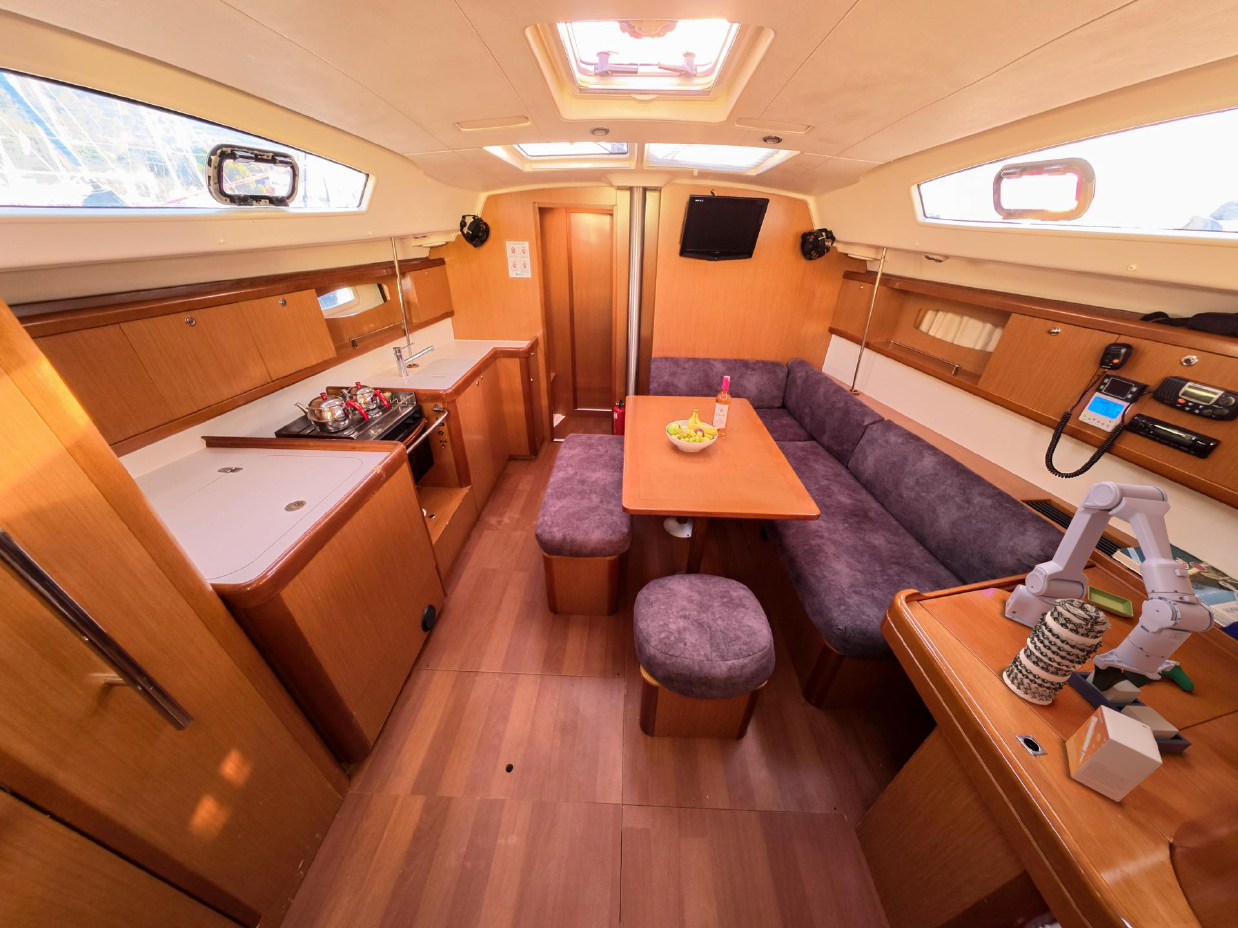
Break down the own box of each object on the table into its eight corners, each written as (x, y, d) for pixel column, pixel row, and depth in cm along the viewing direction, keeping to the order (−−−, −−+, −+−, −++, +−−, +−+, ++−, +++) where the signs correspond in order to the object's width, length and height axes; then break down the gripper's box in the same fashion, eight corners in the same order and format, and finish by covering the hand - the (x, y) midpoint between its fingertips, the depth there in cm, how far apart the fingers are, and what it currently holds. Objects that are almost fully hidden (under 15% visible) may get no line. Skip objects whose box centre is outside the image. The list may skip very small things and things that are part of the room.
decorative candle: (1031, 709, 87) (1096, 629, 76) (990, 671, 95) (1043, 593, 84) (1065, 703, 88) (1134, 624, 77) (1022, 666, 96) (1078, 589, 85)
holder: (1141, 751, 80) (1151, 742, 78) (1065, 679, 93) (1072, 671, 92) (1182, 752, 80) (1192, 743, 78) (1100, 680, 93) (1107, 672, 92)
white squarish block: (1107, 702, 87) (1118, 690, 85) (1084, 681, 91) (1094, 669, 89) (1130, 703, 87) (1142, 691, 85) (1106, 681, 91) (1116, 670, 89)
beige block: (1142, 741, 81) (1154, 730, 79) (1115, 716, 85) (1126, 705, 83) (1166, 742, 81) (1179, 730, 79) (1138, 717, 85) (1150, 706, 83)
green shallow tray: (1083, 604, 115) (1087, 598, 114) (1084, 589, 121) (1088, 584, 120) (1129, 622, 110) (1133, 616, 109) (1127, 606, 115) (1131, 600, 114)
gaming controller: (1179, 689, 94) (1175, 662, 96) (1197, 692, 90) (1192, 664, 92) (1128, 677, 96) (1125, 650, 98) (1144, 679, 93) (1140, 652, 95)
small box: (1063, 742, 81) (1100, 703, 75) (1109, 765, 77) (1151, 726, 71) (1069, 777, 75) (1109, 737, 69) (1119, 803, 72) (1165, 764, 66)
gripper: (1135, 661, 79) (1096, 704, 85) (1208, 664, 79) (1164, 706, 85) (1097, 632, 85) (1064, 673, 91) (1165, 634, 85) (1127, 675, 91)
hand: (1110, 687), depth 88 cm, fingers closed on white squarish block, 5 cm apart
